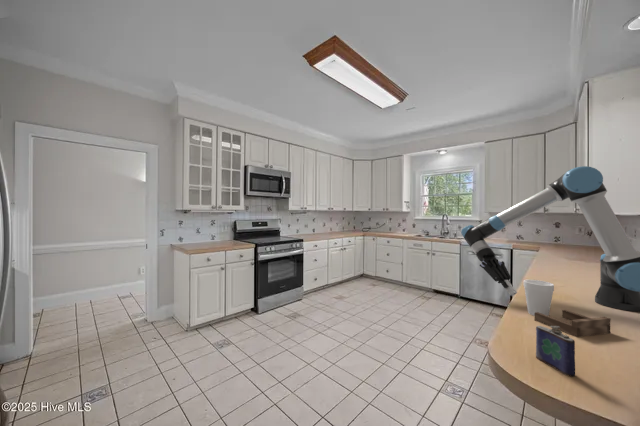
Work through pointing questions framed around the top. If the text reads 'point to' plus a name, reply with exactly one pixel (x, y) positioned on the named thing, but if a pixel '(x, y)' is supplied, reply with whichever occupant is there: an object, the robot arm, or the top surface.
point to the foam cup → (538, 296)
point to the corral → (577, 324)
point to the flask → (556, 349)
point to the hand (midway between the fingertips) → (513, 294)
